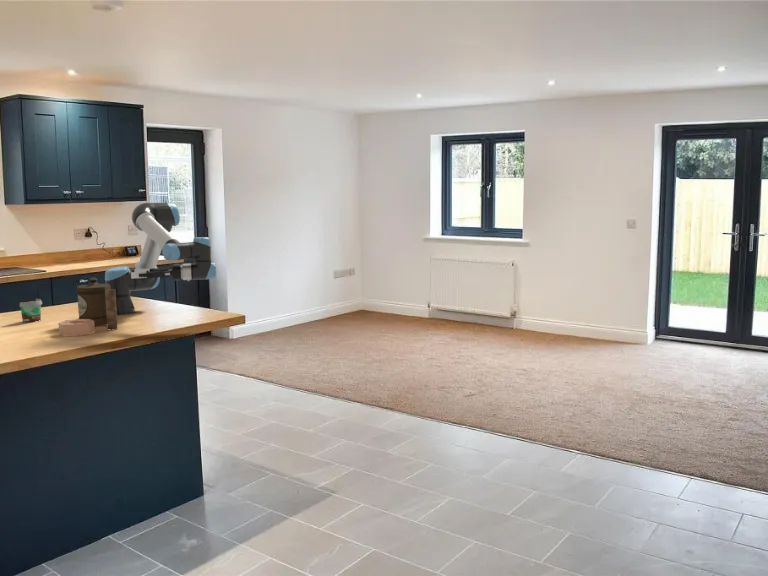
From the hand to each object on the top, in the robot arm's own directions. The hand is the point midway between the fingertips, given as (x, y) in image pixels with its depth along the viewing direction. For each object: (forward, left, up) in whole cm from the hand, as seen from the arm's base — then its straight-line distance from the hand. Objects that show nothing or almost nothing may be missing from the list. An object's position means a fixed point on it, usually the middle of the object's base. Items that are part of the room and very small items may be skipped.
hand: (132, 273), depth 322 cm
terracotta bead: (+23, -8, -25) cm, 35 cm away
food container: (+27, -52, -25) cm, 64 cm away
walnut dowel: (+8, -6, -25) cm, 27 cm away
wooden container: (+8, -25, -25) cm, 36 cm away
